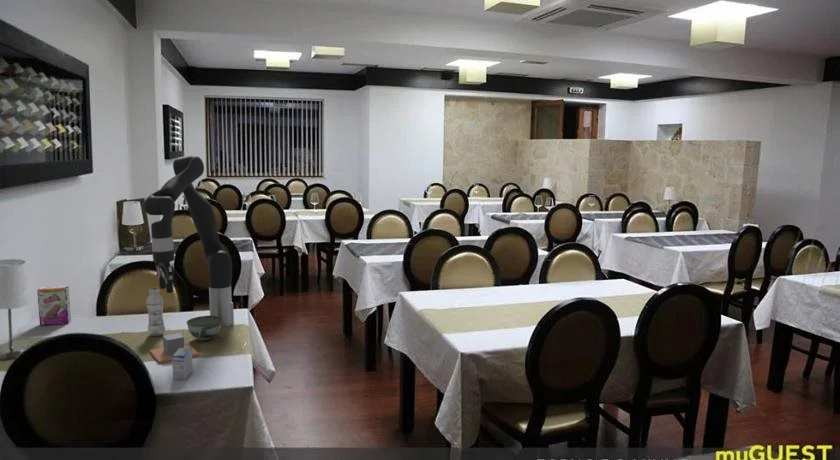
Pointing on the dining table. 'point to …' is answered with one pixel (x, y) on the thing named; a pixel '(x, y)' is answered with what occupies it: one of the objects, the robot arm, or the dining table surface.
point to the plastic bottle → (155, 313)
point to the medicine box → (182, 363)
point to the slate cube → (173, 343)
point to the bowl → (204, 327)
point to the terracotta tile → (164, 358)
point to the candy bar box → (54, 305)
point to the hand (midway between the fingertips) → (166, 290)
